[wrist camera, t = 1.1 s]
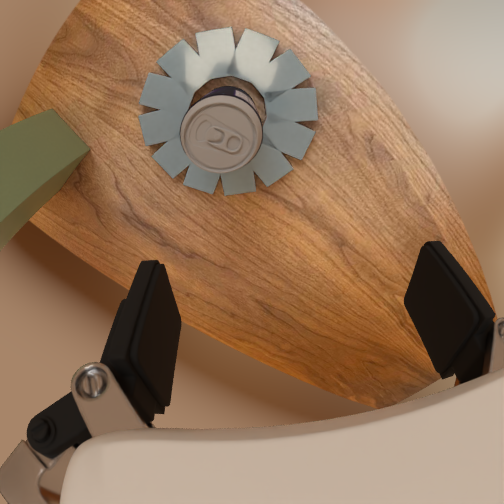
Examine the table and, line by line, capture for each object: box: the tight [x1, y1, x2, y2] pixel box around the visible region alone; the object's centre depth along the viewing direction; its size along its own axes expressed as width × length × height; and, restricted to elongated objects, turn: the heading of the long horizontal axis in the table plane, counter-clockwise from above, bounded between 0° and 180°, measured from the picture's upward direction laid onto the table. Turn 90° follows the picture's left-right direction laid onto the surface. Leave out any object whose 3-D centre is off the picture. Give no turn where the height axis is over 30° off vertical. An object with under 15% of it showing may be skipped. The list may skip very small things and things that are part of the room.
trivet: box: [138, 27, 318, 196], centre depth 27 cm, size 18×18×1 cm
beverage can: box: [180, 86, 263, 173], centre depth 22 cm, size 6×6×12 cm
